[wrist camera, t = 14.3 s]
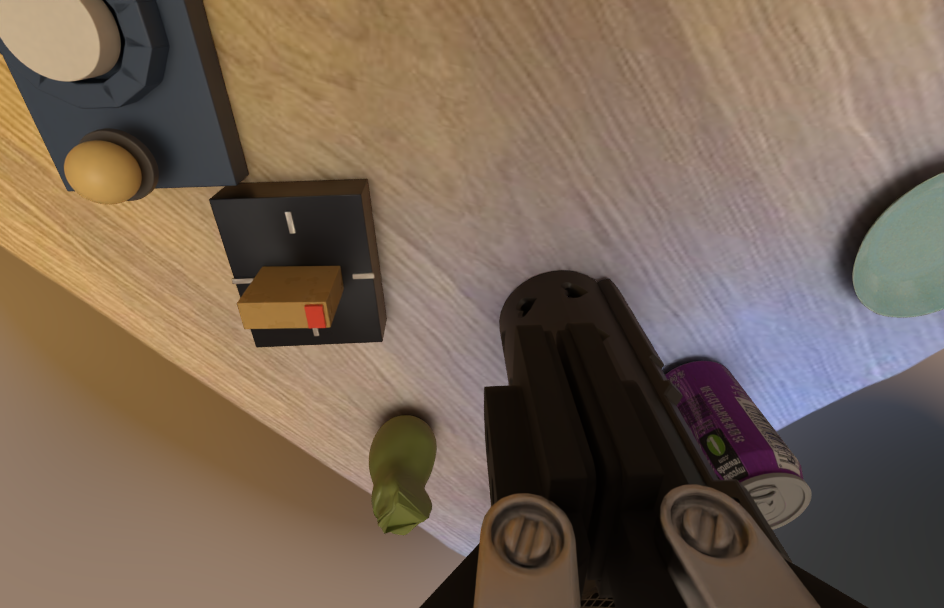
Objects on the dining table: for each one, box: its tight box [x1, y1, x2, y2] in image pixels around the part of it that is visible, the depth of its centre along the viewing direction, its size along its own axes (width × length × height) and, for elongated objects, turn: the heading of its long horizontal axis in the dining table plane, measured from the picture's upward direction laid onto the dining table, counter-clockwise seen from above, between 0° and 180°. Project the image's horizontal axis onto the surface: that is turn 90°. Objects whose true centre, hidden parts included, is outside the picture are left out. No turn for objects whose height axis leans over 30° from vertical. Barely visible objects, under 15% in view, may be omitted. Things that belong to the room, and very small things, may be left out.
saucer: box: [852, 172, 944, 318], centre depth 35 cm, size 12×12×2 cm
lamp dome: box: [64, 128, 159, 204], centre depth 25 cm, size 4×4×3 cm
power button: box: [0, 0, 121, 82], centre depth 22 cm, size 4×4×2 cm
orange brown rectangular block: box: [237, 266, 344, 329], centre depth 30 cm, size 5×2×5 cm, turn 90°
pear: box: [369, 415, 437, 535], centre depth 39 cm, size 6×5×10 cm
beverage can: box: [665, 361, 811, 530], centre depth 37 cm, size 7×7×12 cm
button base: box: [0, 0, 248, 191], centre depth 26 cm, size 12×10×4 cm
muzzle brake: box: [499, 271, 792, 608], centre depth 26 cm, size 10×28×10 cm
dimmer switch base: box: [209, 179, 387, 347], centre depth 33 cm, size 11×9×3 cm
